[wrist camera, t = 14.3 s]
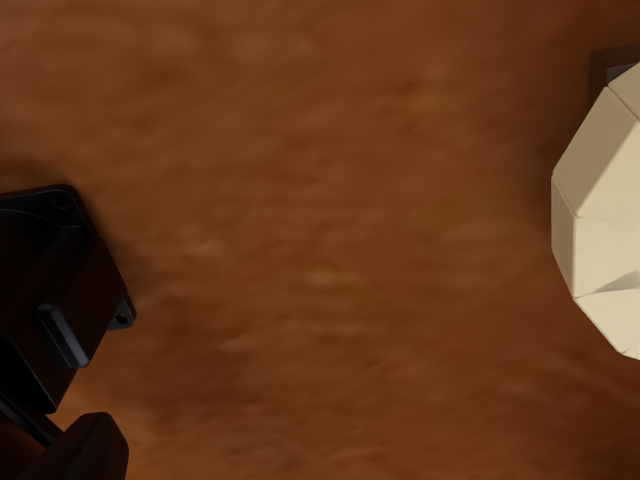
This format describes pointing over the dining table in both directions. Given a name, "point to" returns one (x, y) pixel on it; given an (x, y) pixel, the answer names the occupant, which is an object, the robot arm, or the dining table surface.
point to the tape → (603, 214)
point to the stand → (610, 67)
